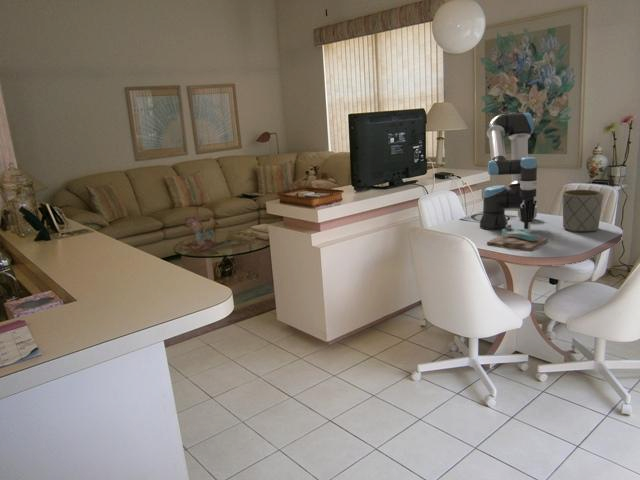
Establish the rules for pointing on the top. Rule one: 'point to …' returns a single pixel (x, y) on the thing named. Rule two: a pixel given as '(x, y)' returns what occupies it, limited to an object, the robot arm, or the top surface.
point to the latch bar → (523, 234)
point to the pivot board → (516, 241)
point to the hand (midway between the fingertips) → (527, 234)
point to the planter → (582, 210)
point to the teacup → (534, 213)
